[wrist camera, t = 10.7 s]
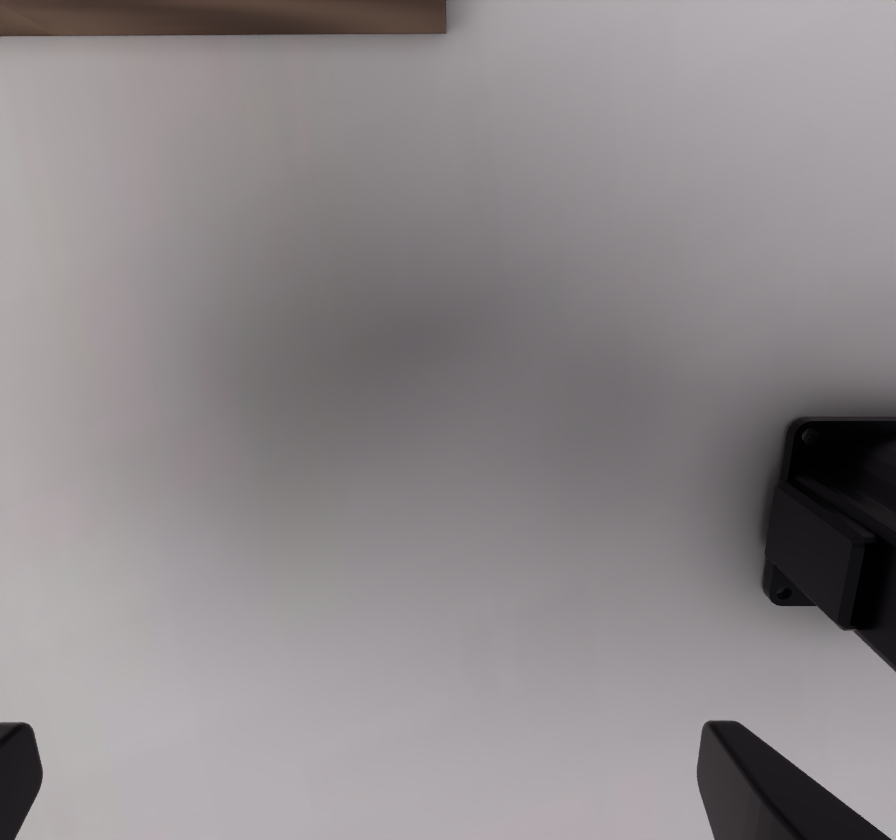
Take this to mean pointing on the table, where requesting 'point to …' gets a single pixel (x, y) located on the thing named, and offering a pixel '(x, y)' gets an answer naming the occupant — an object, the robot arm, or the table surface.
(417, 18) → the socket
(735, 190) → the table surface
